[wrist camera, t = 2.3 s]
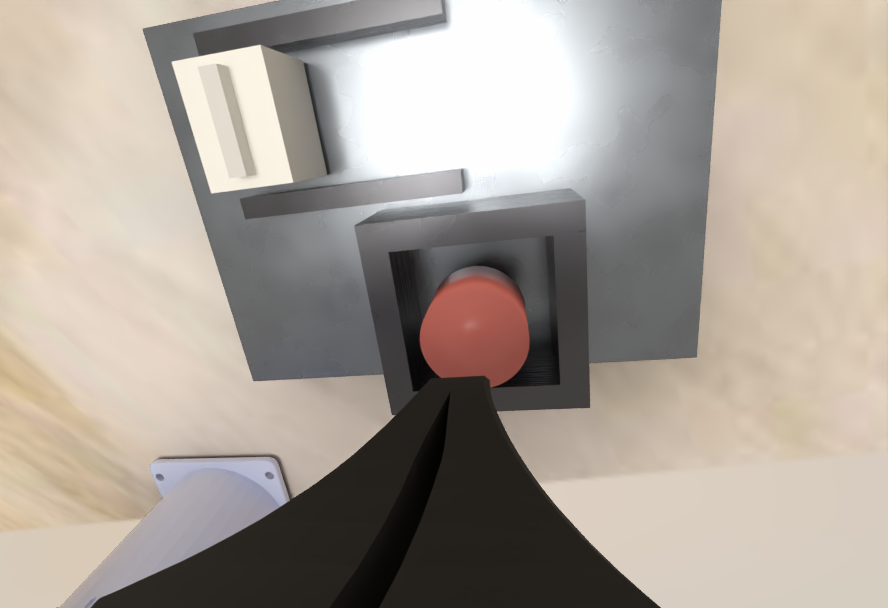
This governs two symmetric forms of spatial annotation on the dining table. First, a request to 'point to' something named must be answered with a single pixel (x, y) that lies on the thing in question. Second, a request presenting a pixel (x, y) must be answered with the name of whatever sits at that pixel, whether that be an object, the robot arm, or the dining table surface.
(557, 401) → the panel
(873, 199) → the dining table surface
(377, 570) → the robot arm
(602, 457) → the dining table surface
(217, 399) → the dining table surface
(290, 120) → the sliding toggle
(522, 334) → the button
